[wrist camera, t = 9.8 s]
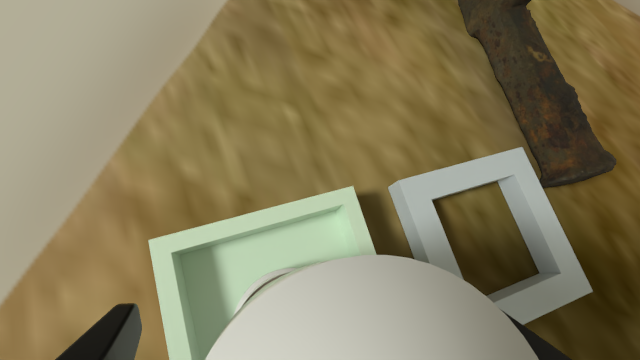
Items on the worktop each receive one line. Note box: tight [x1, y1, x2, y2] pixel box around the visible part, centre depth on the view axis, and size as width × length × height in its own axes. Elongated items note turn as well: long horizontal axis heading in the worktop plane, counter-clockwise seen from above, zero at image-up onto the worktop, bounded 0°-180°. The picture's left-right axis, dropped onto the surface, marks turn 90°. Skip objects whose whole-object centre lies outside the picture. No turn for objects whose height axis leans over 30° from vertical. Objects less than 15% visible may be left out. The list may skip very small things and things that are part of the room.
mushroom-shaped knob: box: [205, 255, 539, 360], centre depth 9 cm, size 5×5×12 cm
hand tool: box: [458, 0, 616, 188], centre depth 22 cm, size 19×4×5 cm, turn 14°
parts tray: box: [148, 186, 376, 360], centre depth 15 cm, size 11×10×2 cm
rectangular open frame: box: [388, 147, 593, 325], centre depth 19 cm, size 10×10×2 cm
